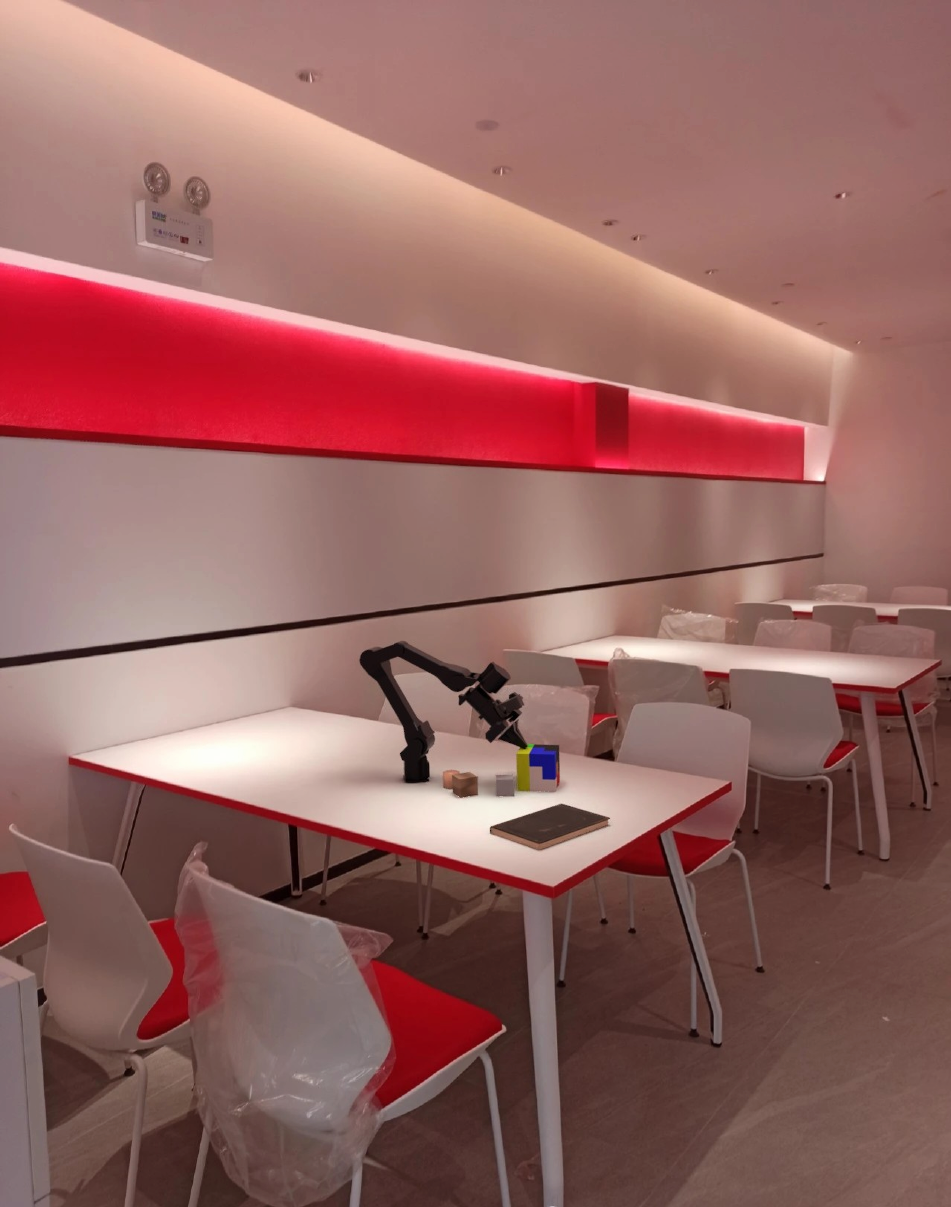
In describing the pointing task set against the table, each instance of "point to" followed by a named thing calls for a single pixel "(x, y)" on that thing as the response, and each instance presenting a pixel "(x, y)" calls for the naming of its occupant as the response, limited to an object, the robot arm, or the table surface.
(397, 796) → the table surface
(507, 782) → the slate block
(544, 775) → the puzzle toy
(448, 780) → the terracotta cylinder
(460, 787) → the walnut block
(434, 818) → the table surface
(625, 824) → the table surface
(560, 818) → the hardcover book
